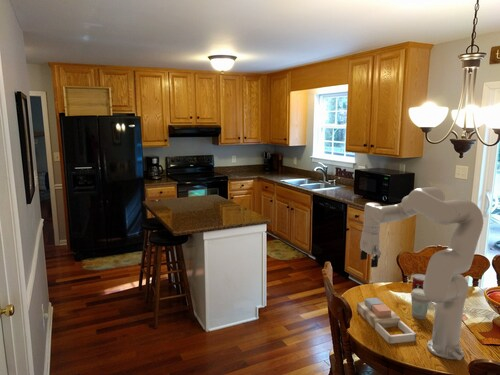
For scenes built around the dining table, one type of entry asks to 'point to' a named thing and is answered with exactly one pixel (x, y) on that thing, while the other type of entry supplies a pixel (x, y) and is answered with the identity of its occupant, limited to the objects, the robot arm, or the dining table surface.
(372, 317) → the birch plate
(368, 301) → the tile slate
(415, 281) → the canned food
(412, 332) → the box
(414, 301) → the coffee cup
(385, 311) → the tile terracotta
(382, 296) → the dining table surface
